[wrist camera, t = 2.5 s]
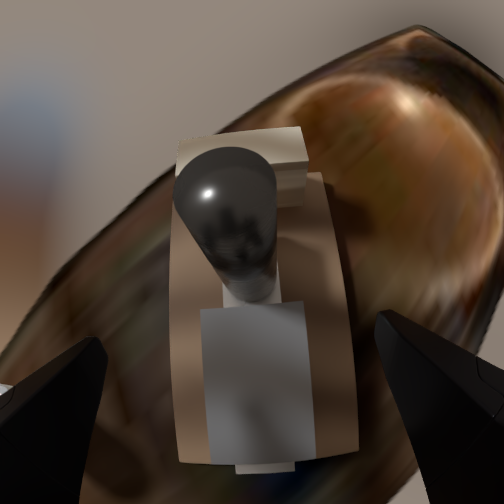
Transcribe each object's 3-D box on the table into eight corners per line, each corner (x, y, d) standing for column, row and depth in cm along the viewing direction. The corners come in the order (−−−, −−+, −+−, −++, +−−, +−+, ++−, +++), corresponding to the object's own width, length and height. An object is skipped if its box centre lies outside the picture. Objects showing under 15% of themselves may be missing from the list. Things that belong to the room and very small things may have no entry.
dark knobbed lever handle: (291, 453, 14) (311, 567, 3) (242, 456, 14) (196, 567, 3) (271, 226, 19) (264, 87, 9) (227, 230, 19) (181, 99, 9)
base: (354, 445, 15) (385, 477, 9) (184, 456, 16) (149, 490, 10) (319, 180, 23) (329, 125, 17) (178, 195, 24) (151, 146, 18)
